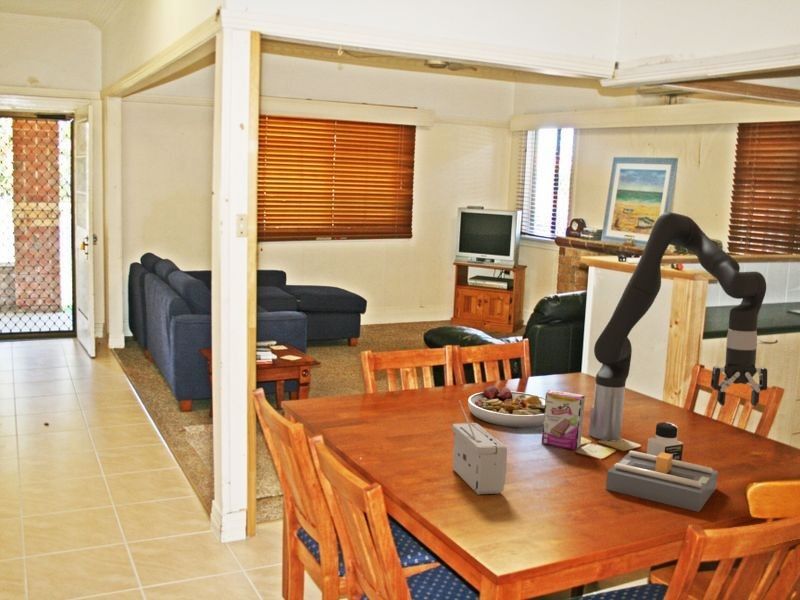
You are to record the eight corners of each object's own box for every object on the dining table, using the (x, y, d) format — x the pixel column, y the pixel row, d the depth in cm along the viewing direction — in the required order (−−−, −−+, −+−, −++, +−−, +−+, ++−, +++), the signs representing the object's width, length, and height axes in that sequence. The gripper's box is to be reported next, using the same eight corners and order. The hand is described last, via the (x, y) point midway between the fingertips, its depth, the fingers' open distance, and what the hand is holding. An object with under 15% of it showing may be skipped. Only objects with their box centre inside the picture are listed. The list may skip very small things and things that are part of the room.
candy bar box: (540, 444, 261) (545, 392, 259) (545, 440, 266) (549, 388, 263) (577, 451, 257) (581, 398, 254) (581, 446, 261) (585, 394, 259)
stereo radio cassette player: (505, 495, 219) (511, 420, 216) (475, 497, 217) (480, 421, 214) (475, 467, 239) (480, 397, 236) (447, 468, 237) (452, 398, 233)
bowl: (575, 423, 287) (577, 400, 285) (507, 435, 270) (509, 411, 268) (515, 400, 311) (516, 379, 310) (449, 410, 294) (451, 388, 293)
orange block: (655, 471, 227) (656, 456, 226) (660, 466, 231) (661, 452, 231) (666, 473, 225) (668, 459, 225) (671, 468, 230) (672, 454, 229)
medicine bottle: (663, 469, 245) (667, 429, 243) (645, 461, 251) (649, 421, 249) (681, 466, 248) (685, 426, 246) (663, 458, 254) (667, 419, 252)
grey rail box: (605, 489, 227) (607, 465, 226) (628, 468, 244) (630, 446, 243) (698, 511, 215) (701, 486, 213) (715, 488, 231) (718, 465, 230)
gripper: (762, 343, 233) (758, 401, 235) (709, 343, 233) (706, 401, 235) (774, 349, 225) (769, 409, 227) (719, 348, 225) (715, 408, 228)
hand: (737, 404), depth 231 cm, fingers open, 8 cm apart
